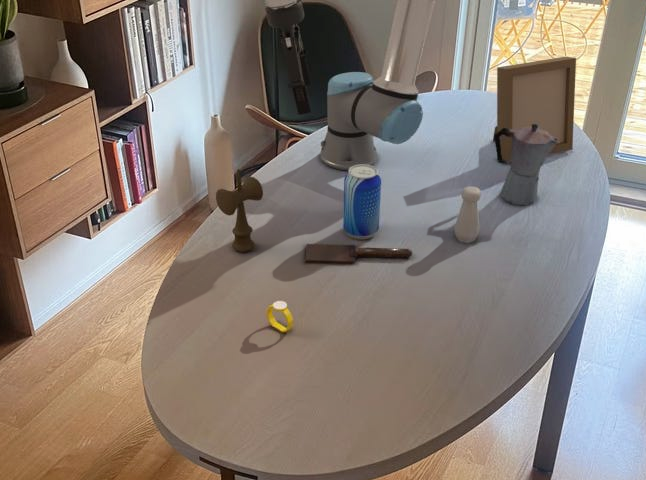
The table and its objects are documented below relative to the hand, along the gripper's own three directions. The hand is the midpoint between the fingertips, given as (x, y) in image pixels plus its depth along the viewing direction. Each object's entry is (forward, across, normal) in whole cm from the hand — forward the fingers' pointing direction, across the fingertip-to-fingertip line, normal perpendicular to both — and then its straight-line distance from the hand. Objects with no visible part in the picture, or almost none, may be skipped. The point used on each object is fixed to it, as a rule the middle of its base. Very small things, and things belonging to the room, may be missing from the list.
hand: (305, 99), depth 179 cm
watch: (+27, +43, -11) cm, 52 cm away
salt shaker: (+38, +10, +30) cm, 49 cm away
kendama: (+27, +13, -20) cm, 36 cm away
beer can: (+33, +6, +6) cm, 34 cm away
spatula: (+32, +17, +6) cm, 37 cm away
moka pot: (+42, -10, +46) cm, 63 cm away
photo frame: (+45, -38, +53) cm, 79 cm away
